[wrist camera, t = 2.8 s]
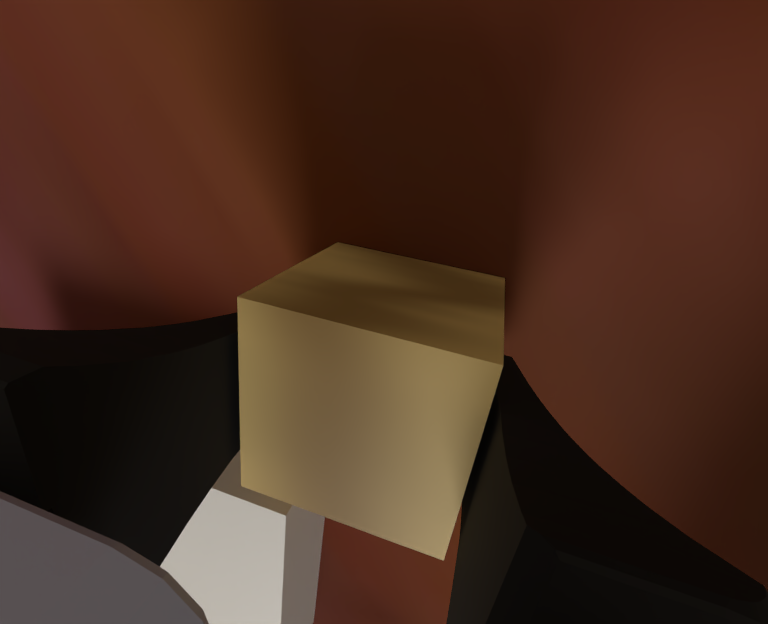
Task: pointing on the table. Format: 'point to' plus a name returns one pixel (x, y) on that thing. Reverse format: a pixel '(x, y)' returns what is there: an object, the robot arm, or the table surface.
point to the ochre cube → (369, 389)
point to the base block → (249, 556)
